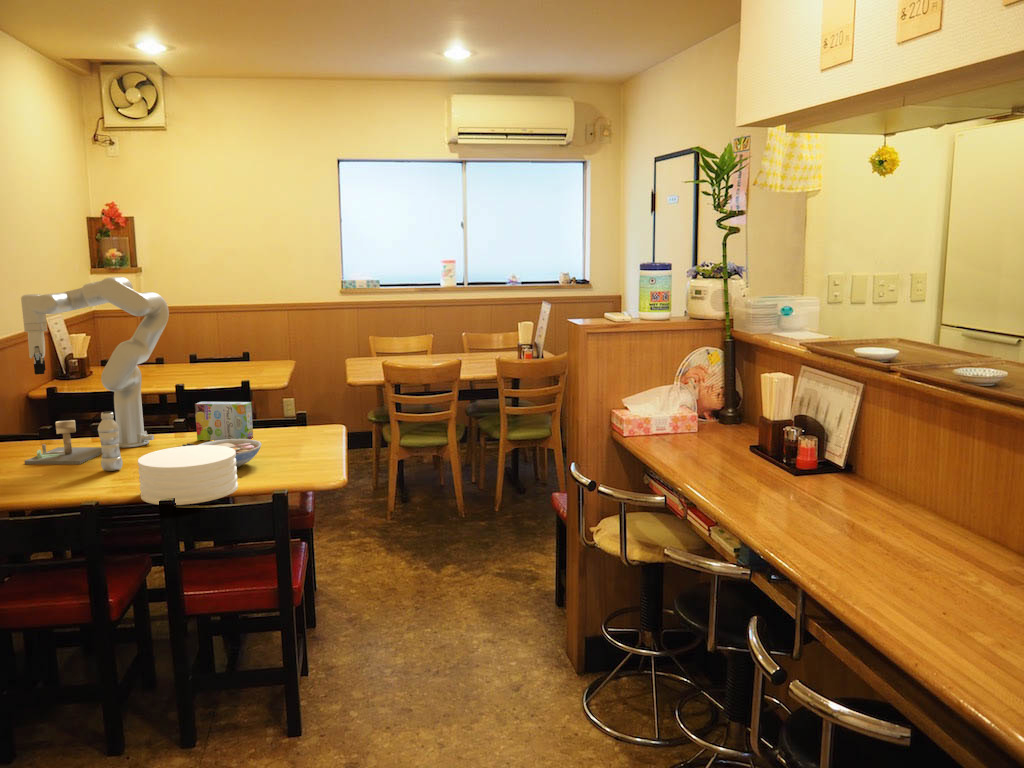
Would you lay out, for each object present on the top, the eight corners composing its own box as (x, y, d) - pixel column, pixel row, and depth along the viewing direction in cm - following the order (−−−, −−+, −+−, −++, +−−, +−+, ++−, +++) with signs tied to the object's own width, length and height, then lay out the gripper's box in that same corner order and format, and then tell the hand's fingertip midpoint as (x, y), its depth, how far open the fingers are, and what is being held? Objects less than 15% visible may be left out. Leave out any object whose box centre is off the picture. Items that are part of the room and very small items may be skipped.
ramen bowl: (279, 464, 291) (278, 440, 289) (226, 480, 271) (225, 455, 270) (229, 455, 303) (227, 433, 302) (175, 470, 284) (173, 446, 282)
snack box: (254, 439, 329) (251, 401, 326) (247, 442, 323) (245, 404, 321) (203, 438, 332) (200, 400, 329) (196, 441, 326) (193, 403, 324)
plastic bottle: (115, 473, 281) (109, 414, 277) (97, 472, 282) (91, 414, 279) (127, 468, 287) (122, 411, 284) (110, 467, 288) (104, 410, 285)
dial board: (110, 450, 313) (109, 442, 312) (80, 464, 293) (79, 455, 293) (58, 450, 314) (57, 442, 314) (24, 464, 294) (23, 455, 294)
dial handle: (78, 451, 306) (74, 420, 304) (77, 453, 303) (74, 421, 302) (43, 454, 302) (40, 422, 300) (42, 456, 299) (39, 424, 297)
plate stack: (137, 486, 265) (134, 451, 263) (229, 475, 278) (227, 441, 276) (144, 511, 241) (141, 472, 239) (245, 496, 253) (243, 459, 252)
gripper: (25, 326, 321) (30, 370, 324) (22, 329, 306) (27, 376, 309) (47, 325, 324) (52, 368, 327) (46, 328, 309) (50, 374, 312)
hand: (40, 372), depth 318 cm, fingers open, 9 cm apart
